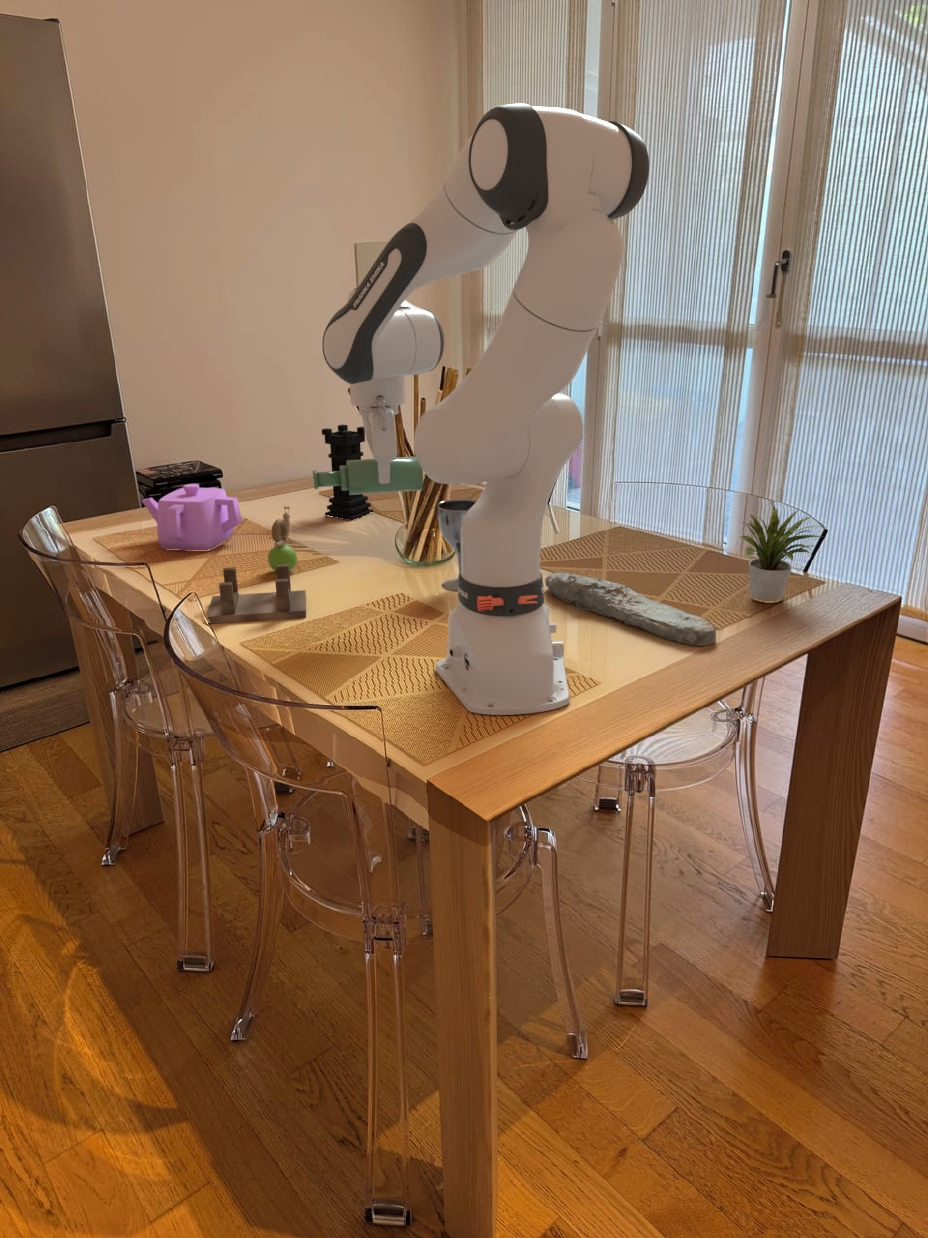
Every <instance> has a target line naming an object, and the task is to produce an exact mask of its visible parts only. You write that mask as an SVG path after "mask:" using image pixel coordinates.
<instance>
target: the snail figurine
mask: <svg viewBox="0 0 928 1238" xmlns="http://www.w3.org/2000/svg"><path fill="white" fill-rule="evenodd" d="M283 509H284V513H283V514H282V519H281V518H278V519H276V520H275V521H274V522H273V524H272V525H271V538H272V539H273V541H274V546H273V547H272V548H271V549H270V551H269V552H268V555H267V561H268V565H269V567H270V568H271V569H272V570H273V571H275V572H277V565H280V564H289V572H290V571H292V570H294V568H295V567H296V564H297V563H298V556H297V552H296V550H295V549H294V548H293V547H292V546H291V545H289V544H286V543H287V541H288V539H289V535H290V529H291V528H290V527H291V526H290V525H291V524H290V523H291V522H290V517H291V516H290V506H286V505H285V506H283ZM286 509H287V510H288V512H287V510H286Z"/></svg>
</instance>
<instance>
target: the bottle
mask: <svg viewBox="0 0 928 1238" xmlns="http://www.w3.org/2000/svg"><path fill="white" fill-rule="evenodd" d="M317 471H318V470H312V476H313V487H314V490H319V488H322V487H323V488H325V487H327V488H328V487H333V486H341V487H342V490H349V494H350V495H356V494H363V495H365V494H366V495H367V494H368V495H369V494H371V495H372V494H381V493H384V494H385V493H398V492H399V493H400V492H414V491H423V489H424V474H423V473H424V471H423V470H422V468H421V466H420V465H419V463H418V460H417V458H416V455H415V456H401V457H399V456H397V458H396V460H392V461H391V464H390V482H389V483H388V484H381V483H380V482H379V480H378V466H377V461H375V460H374V458H367V459H361V460H347V465H346V466H340V471H332V470H331V471H318V472H317Z"/></svg>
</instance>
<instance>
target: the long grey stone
mask: <svg viewBox="0 0 928 1238" xmlns="http://www.w3.org/2000/svg"><path fill="white" fill-rule="evenodd" d="M544 583H545V584H544V585H546V587H547V589H548V592H549V593H550V594H553V595H555V596H556V597H557V598H559V599H560V600H562V601H563V602H566V603H569V604H570V605H574V606H575V609H576V610H583V611H586V612H593V613H595V614H597V615H599V616H603V617H605V618H615V619H616V620H618V621H620V622H624V624H625V625H628V626H632V627H637V628H639V629H642V630H644V631H647V632H648V633H650V634H652V635H655V636H657V637H659V638H660V637H661V638H663V639H665V640H666V641H672V642H677V643H678V644H685V645H690V646H694V647H695V646H696V647H706V646H710V645H712V644H715V642H716V640H717V630H716V628H715V627H714V626H713V625H712V624H710V623H709V622H708V621H707V620H706V619H704V618H702V617H700V616H698V615H695V614H691V613H687V612H686V611H684V610H681V609H679V608H677V607H673V606H671V605H668V604H666V603H663V602H659V601H657V600H653V599H650V598H649V597H648V598H647V597H646V596H645V595H642V594H640V593H638V592H635V591H634V590H633V589H631V588H630V587H628V585H625V584H622V583H621V584H620V583H618V582H613V581H609V580H606V579H603V578H594V577H590V576H586V575H585V576H584V575H580V574H579V575H578V574H574V573H573V574H572V573H569V572H554V573H550V574H548V576H547V577H545V580H544Z"/></svg>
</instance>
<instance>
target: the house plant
mask: <svg viewBox="0 0 928 1238" xmlns="http://www.w3.org/2000/svg"><path fill="white" fill-rule="evenodd" d="M798 511H799V509H797V510H795V511H794V512H793V513H791V515H789V517H788V518H786V519H785V520H784V521H783V523H782V524H781V525H780V518H779V510H778V509H777V508H776V505H774V506H773V509H772V512H771V516H770V520H769V522H768V523H769V524H768V527H767V525H766V523H765V522H764V520H763V519H762V518H761V517H759V516H756V515H752V514H750V513H749V515H750V517H751V519H752V520H753V521H752V520H750V519H748V518H747V520H748V521H749V522H745V521H741V523H742V524H744V525H745V526H746V527H747V528H748V529H749V530H750V532H751V533H752V534H753V536H754V538H755V539H753V537H751V536H749V535H741V536H739V538H740V539H742V540H744V541H746V542H747V543H749V544H751V545H752V546H753V547H754V548H753V547H750V546H747V547H746V548H745V551H744V554H745V555H744V556H743V558H745V557H746V556H750V555H756V556H757V557H758V558H753V559H750V561H748V573H749V591H750V597H751V596H752V597H753V598H756V599H758V600H763V601H776V600H779V599H781V598H782V597H784V594H785V592H786V589H787V586H788V585H787V584H788V582H789V580H790V579H789V578H790V575H791V572H792V569H793V565H792V564H791V563H790V562H788V561H786V559H787V558H789V559H790V560H791V561H793V560H794V553H808V554H810V555H812V553H811V552H810V551H808V549H809V550H811V551H812V549H811V548H810V547H815V546H814V545H805V544H802V543H799V544H798V543H797V544H793V545H790V544H791V543H794V542H796V541H799V540H803V539H809V538H821V537H824V536H822V535H814V534H801V533H806V532H814V531H813V530H807V529H811V528H821V527H822V526H819V525H817V526H815V525H812V526H805V527H801V525H802V524H803V522H806V520H808V519H810V518H811V516H808V517H804V518H802V519H800V520H798V521H796V522H795V523H794V524H793V525H791V527H788V525H789V523H790V522H791V520H792V519H793V518H794V516H795V515H796V514H797V512H798ZM757 518H758V519H759V520H760V521H761V522H762V524H763V526H762V525H761V523H760V522H759V520H758V519H757ZM763 527H764V529H765V531H764V529H763ZM800 527H801V528H800ZM799 528H800V529H799ZM752 529H753V530H752ZM804 529H806V530H804ZM798 531H799V532H798ZM754 532H755V533H754ZM765 532H766V534H765ZM796 532H797V533H796ZM794 533H796V534H794ZM793 534H794V535H793ZM799 534H801V535H799ZM792 535H793V536H792ZM790 536H791V537H790ZM797 547H799V548H797ZM793 548H795V549H793ZM805 548H807V549H805ZM755 552H756V553H755ZM782 599H783V598H782Z"/></svg>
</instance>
